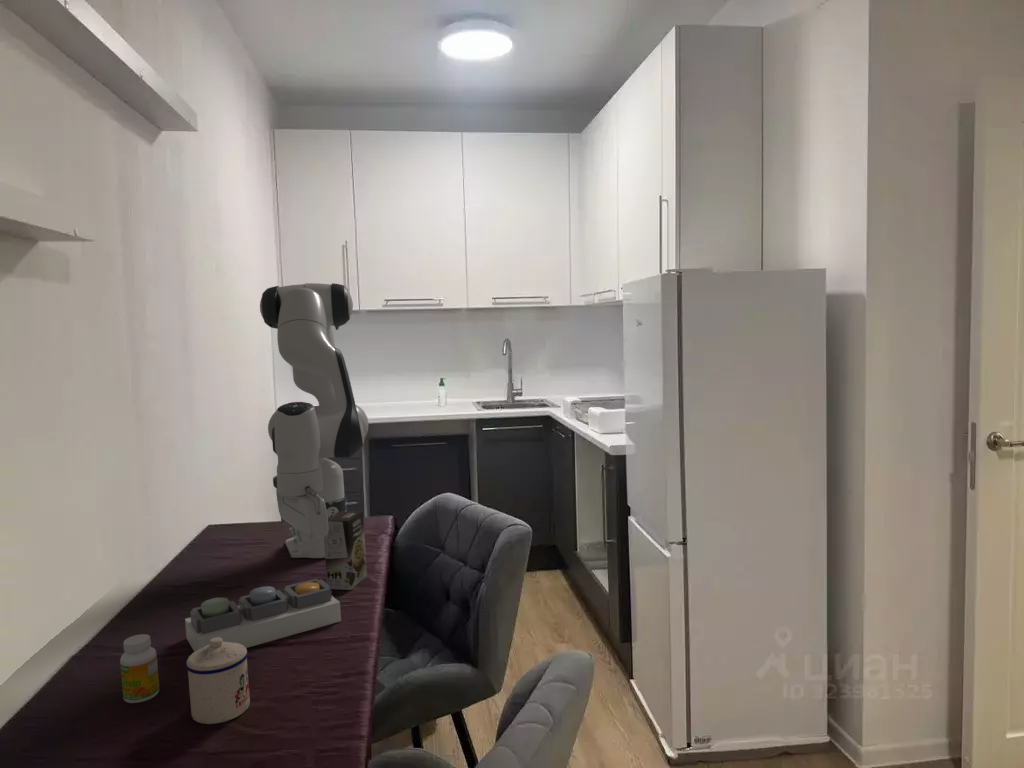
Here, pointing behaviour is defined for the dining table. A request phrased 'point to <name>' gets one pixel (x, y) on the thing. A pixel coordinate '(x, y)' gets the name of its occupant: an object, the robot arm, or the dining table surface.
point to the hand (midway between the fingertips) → (304, 549)
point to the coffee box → (345, 550)
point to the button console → (265, 618)
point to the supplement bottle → (139, 669)
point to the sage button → (214, 607)
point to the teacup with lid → (218, 681)
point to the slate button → (262, 595)
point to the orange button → (306, 588)
